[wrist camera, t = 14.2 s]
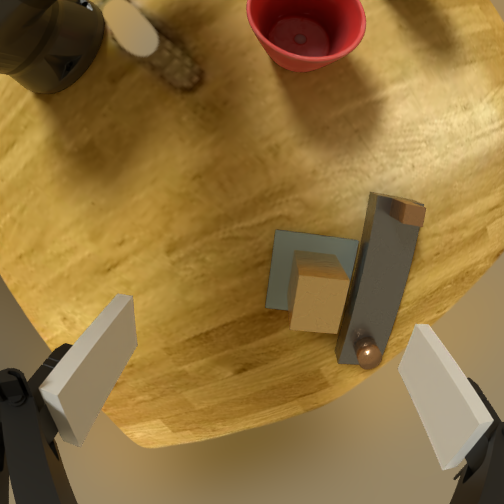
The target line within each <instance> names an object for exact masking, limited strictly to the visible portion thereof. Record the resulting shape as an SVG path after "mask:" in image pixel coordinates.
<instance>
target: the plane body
mask: <svg viewBox="0 0 504 504" xmlns="http://www.w3.org/2000/svg"><path fill="white" fill-rule="evenodd" d="M425 212H426V208H425V207H424V204H422V203H419V202H417V201H414V200H410V199H405V198H400V197H395V196H390V195H384V194H379V193H374V192H370V195H369V201H368V207H367V212H366V218H365V224H364V229H363V234H362V240H361V245H360V250H359V254H358V259H357V264H356V268H355V273H354V277H353V282H352V286H351V290H350V294H349V299H348V303H347V307H346V311H345V315H344V318H343V322H342V326H341V330H340V333H339V337H338V341H337V344H336V348H335V354H336V358H337V362H338V364H359V365H360V367H362V368H363V369H372V368H375V367H376V366H378V365H379V364H380V362H381V360H382V355H383V353H384V350H385V347H386V345H387V342H388V339H389V336H390V333H391V330H392V327H393V324H394V321H395V318H396V315H397V312H398V309H399V305H400V302H401V299H402V295H403V292H404V288H405V285H406V281H407V278H408V274H409V270H410V266H411V262H412V258H413V254H414V250H415V246H416V241H417V237H418V232H419V228H420V227H423V222H424V217H425Z"/></svg>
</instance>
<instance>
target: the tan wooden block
mask: <svg viewBox="0 0 504 504" xmlns="http://www.w3.org/2000/svg"><path fill="white" fill-rule="evenodd" d="M349 283H350V280H349V278H348V276H347V274H346V273H345V271H344V269H343V267H342V266H341V264H340V262H339V260H338V259H337V257H336V255H333V254H325V253H317V252H309V251H300V250H294V254H293V261H292V267H291V274H290V280H289V286H288V292H287V303H288V316H289V329H290V330H298V331H309V332H320V333H333V334H337V332H338V328H339V324H340V321H341V317H342V313H343V309H344V305H345V300H346V296H347V292H348V288H349Z"/></svg>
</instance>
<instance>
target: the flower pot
mask: <svg viewBox="0 0 504 504" xmlns="http://www.w3.org/2000/svg"><path fill="white" fill-rule="evenodd" d="M246 10H247V17H248V21H249V24H250V26H251V28H252V30H253V32H254V33H255V35H256V37H257V38H258V40H259V41H260V43H261V45H262V46H263V48H264V49H265V51H266V52H267V53H268V55H269V56H270V57H271V58H272V59H273V61H274V62H276V63H277V64H278V65H280V66H281V67H283V68H285V69H287V70H290V71H294V72H309V71H313V70H316V69H319V68H321V67H324V66H326V65H328V64H330V63H332V62H335V61H337V60H339V59H340V58H342V57H344V56H346V55H347V54H349V53H350V52H352V51H353V50H354V49H355V48H356V47H357V46H358V45H359V43H360V42H361V40H362V38H363V36H364V33H365V29H366V16H365V12H364V9H363V7H362V4H361V2H360V1H359V0H247V6H246Z"/></svg>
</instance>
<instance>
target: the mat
mask: <svg viewBox="0 0 504 504" xmlns="http://www.w3.org/2000/svg"><path fill="white" fill-rule="evenodd" d="M358 242H359V241H358V240H353V239H346V238H338V237H331V236H323V235H315V234H308V233H300V232H292V231H284V230H276V231H275V239H274V246H273V254H272V262H271V269H270V276H269V284H268V291H267V298H266V305H265V308H271V309H280V310H288V303H287V292H288V286H289V280H290V274H291V267H292V261H293V254H294V250H300V251H309V252H317V253H325V254H333V255H336V257H337V259H338V260H339V262H340V264H341V266H342V267H343V269H344V271H345V273H346V274H347V276H348V278H349V280H351V276H352V271H353V267H354V262H355V257H356V252H357V247H358ZM349 285H350V283H349ZM348 289H349V288H348ZM347 293H348V292H347ZM346 297H347V296H346ZM345 301H346V300H345ZM344 306H345V305H344ZM343 310H344V309H343ZM342 314H343V313H342Z"/></svg>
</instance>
